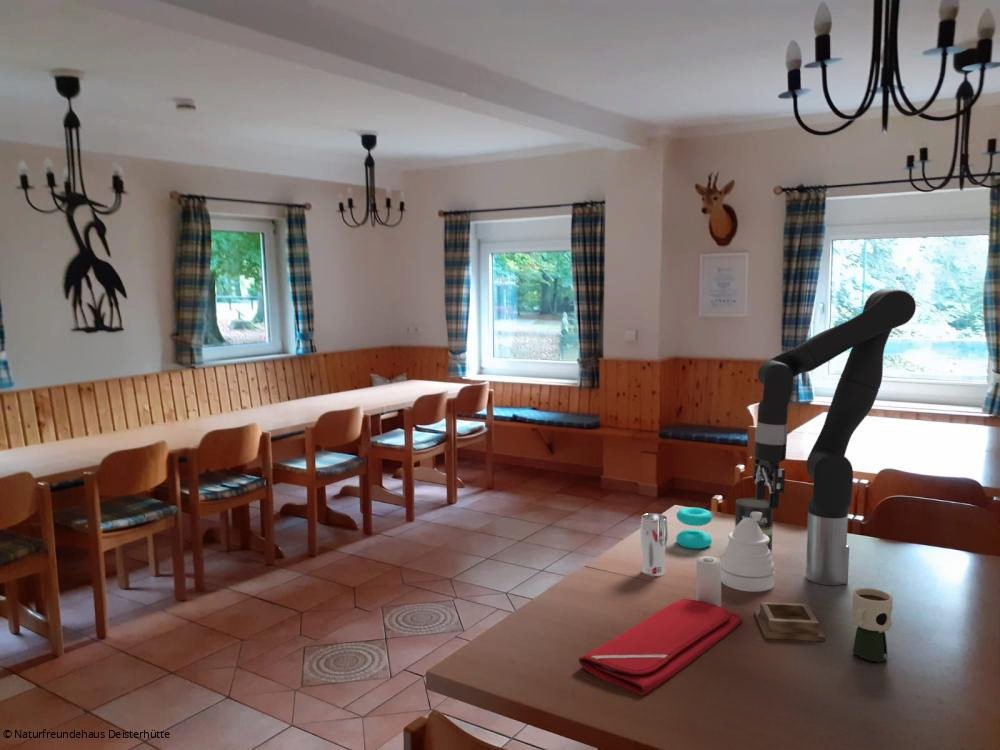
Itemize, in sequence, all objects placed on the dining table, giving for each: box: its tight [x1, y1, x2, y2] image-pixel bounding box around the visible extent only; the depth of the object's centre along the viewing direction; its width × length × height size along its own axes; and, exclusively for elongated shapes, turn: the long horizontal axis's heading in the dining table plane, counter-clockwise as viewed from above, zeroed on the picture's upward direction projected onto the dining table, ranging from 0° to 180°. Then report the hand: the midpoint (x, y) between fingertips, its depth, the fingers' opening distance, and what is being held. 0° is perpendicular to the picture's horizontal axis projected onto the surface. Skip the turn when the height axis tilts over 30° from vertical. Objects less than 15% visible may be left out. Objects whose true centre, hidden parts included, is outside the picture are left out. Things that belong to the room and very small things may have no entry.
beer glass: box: [640, 513, 669, 577], centre depth 197 cm, size 7×7×15 cm
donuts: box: [675, 506, 713, 550], centre depth 219 cm, size 10×10×10 cm
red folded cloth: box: [578, 598, 743, 696], centre depth 157 cm, size 16×41×4 cm, turn 138°
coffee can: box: [734, 497, 774, 556], centre depth 213 cm, size 10×10×14 cm
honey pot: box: [720, 512, 775, 593], centre depth 190 cm, size 13×13×18 cm
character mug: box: [851, 587, 894, 662], centre depth 151 cm, size 11×7×13 cm, turn 126°
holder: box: [753, 601, 826, 642], centre depth 165 cm, size 12×12×4 cm
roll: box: [695, 555, 722, 607], centre depth 176 cm, size 6×6×11 cm
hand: (766, 503), depth 191 cm, fingers open, 8 cm apart
